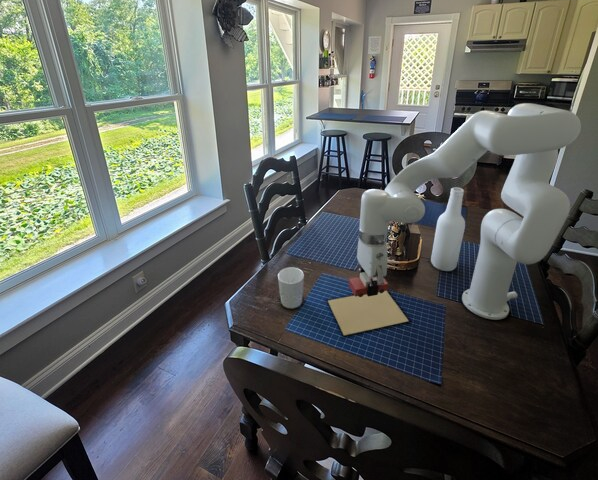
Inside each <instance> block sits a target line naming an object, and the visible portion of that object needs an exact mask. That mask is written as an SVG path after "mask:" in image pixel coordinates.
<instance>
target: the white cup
mask: <svg viewBox="0 0 598 480" xmlns="http://www.w3.org/2000/svg"><path fill="white" fill-rule="evenodd" d="M304 280H305V273H304V272H303V271H302V270H301V269H300V268H298V267H293V266H292V267H291V266H289V267H285V268H282V269H281V270H279V272H278V274H277V281H278V282H277V283H278V290H279V297H280V303H281V304H282V306H283V307H284V308H286V309H295V308H296V309H297V308H298V307H300V306H301V304H303V295H304V282H305V281H304Z"/></svg>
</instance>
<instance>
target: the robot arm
mask: <svg viewBox="0 0 598 480" xmlns="http://www.w3.org/2000/svg"><path fill="white" fill-rule="evenodd" d="M581 130H582V123H581V120H580V118H579V117H578V115H576V114H575V113H574V112H572V111H570V110H567V109H562V108H556V107H551V106H547V105H542V104H538V103H530V102H528V103H527V102H523V103H518V104H515V105H514V106H513V107H511V108H510V109H509V111H508V112H507V114H505V113H502V112H498V111H493V110H485V109H484V110H479V111H476V112H475V113H474V114H472V115H471V116H470V117H469V118H467V119H466V120H465V122H464V123H462V124H461V126H459V127H458V128H457V130H455V132H453V133H452V134H451V135H450V136H449V137H448V138H447V139H446V140H445V141H444V142H443V143H442V144H441V145H440V146H439V147H438V148H437V149H436V150H435V151H434V152H432V153H431V154H428V155H426V156H424V157H422V158H420V159H418V160H416V161H413V162H412V163H410V164H408V165H407V166H405V167H404V168H403V169H402V170H400V171H399V173H397V175H395V176H394V177H393V178H392V179H391V180H390V182H389V183H388V184H387V185H386V187H385V188H384V190H383V189H378V188H371V189H367V190H365V191H364V192H362V195H361V199H360V215H359V226H358V242H357V250H356V251H357V252H356V259H357V262H358V264H359V265H358V271H359V272H358V277H360V273H363V272H366V273H367V275H368V276H369V284H368V288H367V296H374V295H378V289H379V285H383V284H384V280H383V278H384V277H386V276H387V271H388V244H387V242H388V241H387V234H388V226H389V221H392V222H393V221H394V222H397V223H399V224H414V223H417V222H419V221H421V220H422V219H423V217H424V216H425V213H426V207H425V204H424V202H423V201H422V200H421V198H420V197H419V196H418V195H417V194H416V193H415V192H416V191H417V190H418V189H419V188H420V187H421V186H422V185H424V184H426V183H428V182H429V181H433V180H436V179H446V178H447V179H448V178H451V179H452V178H459V177H461V176H462V175H463V174H464V173H465V172H466V171H467V170H468V169H469V168H470V167H471V166H473V165H474V164H475V163H476V162H477V161H478V160H479V159H480V158H481V157H483V156H484V155H485V154H486V153H487V152H490V153H493V154H495V155H498V156H515V158H514V161H513V163H512V166H511V168H510V170H509V173H508V175H507V177H506V180H505V182H504V184H503V186H502V189H501V193H500V198H501V200H502V202H503V203H504V204H505V205H506V206H507V207H509V208H510V209H512V210H514V211H515V212H516V213H515V212H513V211H512V210H509V209H506V208H494V209H492V210H490V211H488V212H487V213H486V214H485V215H484V216H483V218H482V221H481V223H480V242H479V249H478V253H477V257H476V262H475V266H474V269H473V274H472V278H471V283H470V286H469V288H468V289H466V290H464V291H463V293H462V295H461V301H462V304H463V305H464V307H466V308H467V310H469V311H470V312H471V313H473V314H474V315H477V316H478V317H481V318H484V319H488V320H494V321H497V320H503V319H505V318H507V317H508V315H509V313H510V307H509V304H508V303H507V302H508V301H510V300H514V299H517V298H518V293H517V292H516V291H509V290H510V288H511V284H512V283H511V282H512V280H513V277H514V274H515V270H516V266H517V265H518V263H519V264H522V265H533V264H536V263H539V262H540V261H541V260H543V259H544V258H545V257H546V256H547V255H548V253H549V252H550V250H551V248H552V246H553V245H554V243H555V241H556V239H557V237H558V235H559V234H560V232H561V230H562V228H563V227H564V224H565V222H566V221H567V219H568V216H569V214H570V208H571V203H570V199H569V197H568V195H567V194H566V193H565V192H564V191H562V190H561V189H560V188H558V187H556V186H554V185H551V184H550V180H551V177H552V175H553V173H554V170H555V167H556V165H557V162H558V157H559V150H561V149H564V148H565V147H568V146H569V145H571V144H572V143H573V142H574V141H575V140H576V139H577V138H578V136H579V135H580V134H581ZM518 214H519V215H518ZM520 215H521V216H520ZM374 277H376V281H373V278H374Z"/></svg>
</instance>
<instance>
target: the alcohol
mask: <svg viewBox="0 0 598 480" xmlns="http://www.w3.org/2000/svg"><path fill="white" fill-rule="evenodd" d="M449 194H450V195H449V198H448V202H447V205H446V208H445V211H444V212H443V213H441V214H440V215H439V217H438V218H437V221H436V226H435V231H434V240H433V245H432V251H431V256H430V263H431V264H432V266H433V267H434V268H436V269H438V270H440V271H444V272H452V271H454V270H455V269H456V268H457V266H458V262H459V259H460V252H461V247H462V243H463V239H464V234H465V230H466V229H465V228H466V220H465V218H464V217H463V215H462V208H463V198H464V194H465V190H464V189H463V188H461V187H458V186H457V187H456V186H455V187H452V188H450V193H449Z"/></svg>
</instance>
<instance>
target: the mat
mask: <svg viewBox="0 0 598 480" xmlns="http://www.w3.org/2000/svg"><path fill="white" fill-rule="evenodd" d="M327 303H328V305H329V307H330V310H331V311H332V314H333V316H334V318H335V319H336V321H337V324H338V326H339V329H340V330H341V333H342V335H343V336H348V335H354V334H358V333H363V332H367V331H371V330H375V329H380V328H385V327H389V326H395V325H399V324H403V323H407V322H409V319H408V318H407V317H406V315H405V313H403V311H402V310H401V308H400V307H399V306H398V304H397V303H396V302H395V300H394V299H393V298H392V296H391V295H390V294H389V292H388V290H387V291H384V292H383V293H379V292H378V295H374V296H367V294H366V295H363V296H362V297H359V296H356V297H355V295H354V294H353V295H350V296H345V297H339V298H334V299H329V300H327Z"/></svg>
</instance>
